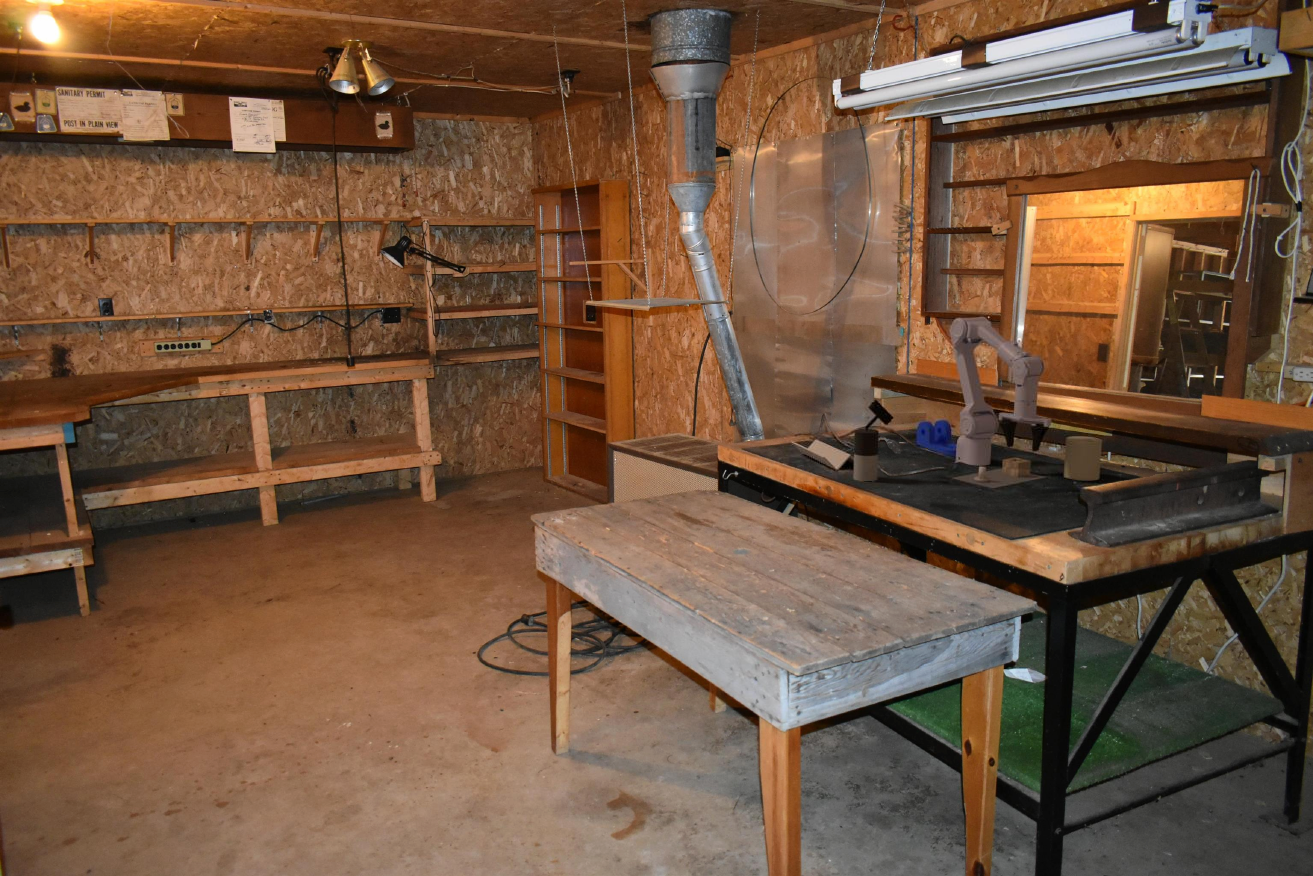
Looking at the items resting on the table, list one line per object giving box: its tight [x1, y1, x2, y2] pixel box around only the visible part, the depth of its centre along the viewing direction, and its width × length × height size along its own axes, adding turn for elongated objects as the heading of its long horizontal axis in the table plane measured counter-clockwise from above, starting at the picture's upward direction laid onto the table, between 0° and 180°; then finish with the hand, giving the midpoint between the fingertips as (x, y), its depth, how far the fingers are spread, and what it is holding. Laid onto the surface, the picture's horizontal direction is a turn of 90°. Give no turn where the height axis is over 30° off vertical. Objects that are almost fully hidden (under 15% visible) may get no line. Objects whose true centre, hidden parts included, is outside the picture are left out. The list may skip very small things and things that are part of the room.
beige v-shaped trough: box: [790, 439, 854, 471], centre depth 284 cm, size 12×25×6 cm
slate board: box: [951, 461, 1046, 493], centre depth 255 cm, size 14×22×5 cm, turn 121°
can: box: [1063, 435, 1103, 482], centre depth 254 cm, size 9×9×12 cm
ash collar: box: [1001, 457, 1032, 477], centre depth 258 cm, size 5×5×4 cm
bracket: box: [916, 419, 957, 457], centre depth 295 cm, size 18×8×9 cm, turn 18°
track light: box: [853, 399, 894, 482], centre depth 259 cm, size 6×17×20 cm
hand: (1022, 448), depth 256 cm, fingers open, 7 cm apart
